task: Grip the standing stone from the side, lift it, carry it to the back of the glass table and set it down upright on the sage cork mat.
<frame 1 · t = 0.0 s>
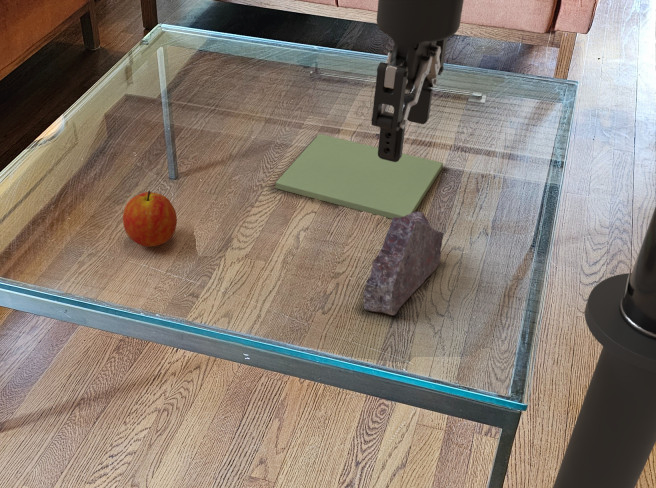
hand: (403, 139, 84), 24 cm above the table, tool pointing down, fingers open, 8 cm apart
fruit: (152, 242, 111), on the table
stone: (397, 282, 105), on the table
mat: (360, 178, 123), on the table
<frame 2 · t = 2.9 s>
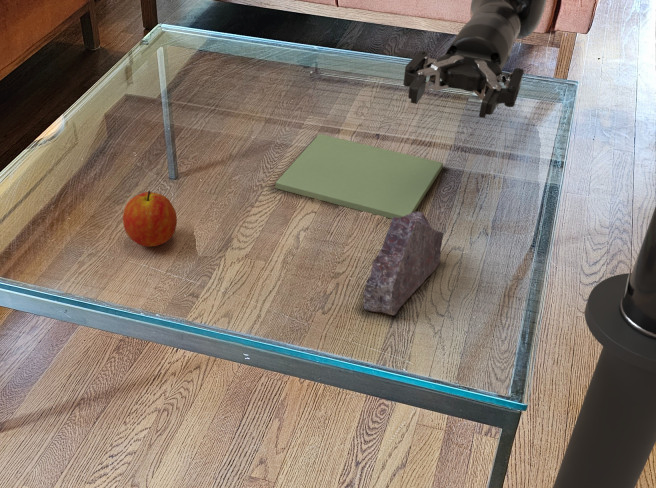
hand: (448, 103, 102), 18 cm above the table, tool horizontal, fingers open, 8 cm apart
nothing on the table moved.
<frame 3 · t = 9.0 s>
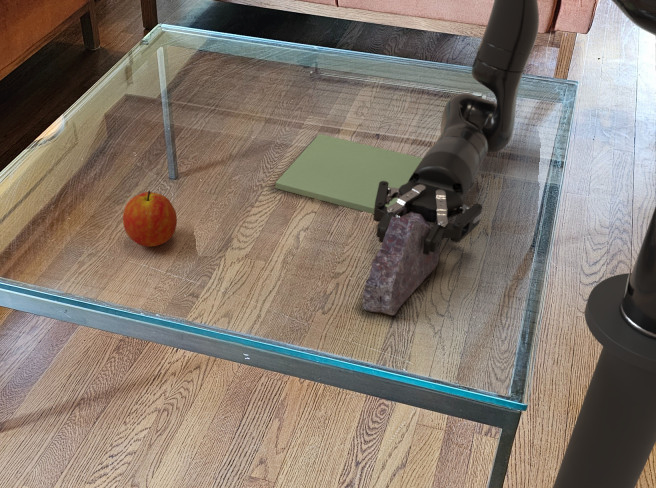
hand: (404, 242, 101), 6 cm above the table, tool horizontal, fingers closed on stone, 5 cm apart
stone: (396, 282, 105), on the table, touching gripper
everything else where it was.
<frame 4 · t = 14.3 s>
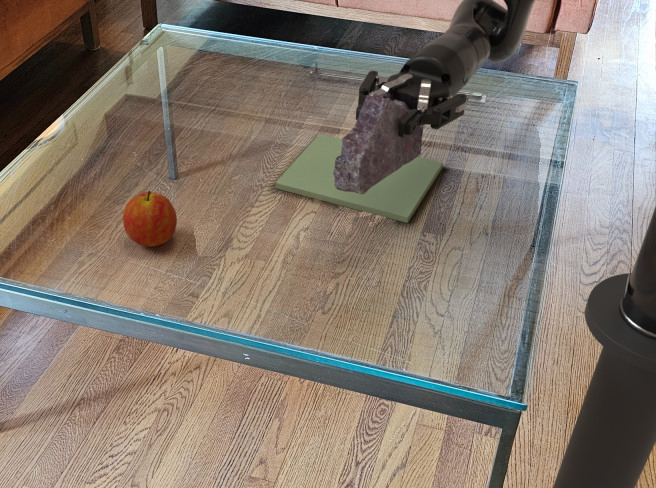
hand: (380, 124, 101), 17 cm above the table, tool horizontal, fingers closed on stone, 5 cm apart
stone: (374, 168, 105), point 10 cm above the table, touching gripper
everything else where it was.
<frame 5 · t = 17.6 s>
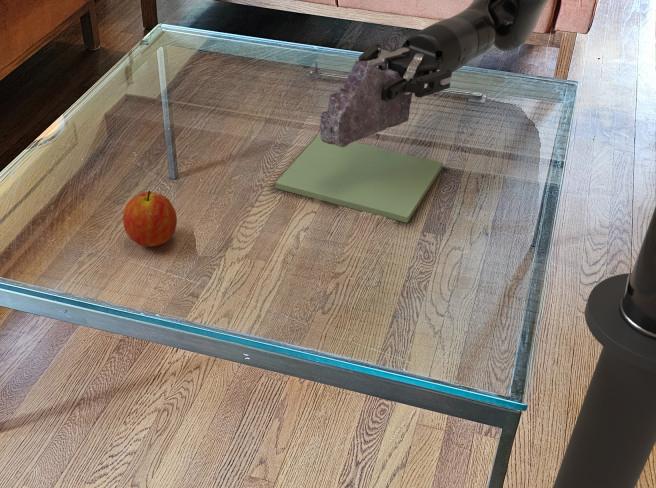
hand: (368, 87, 114), 14 cm above the table, tool horizontal, fingers closed on stone, 5 cm apart
stone: (363, 128, 118), point 8 cm above the table, touching gripper
everything else where it was.
when the fingers open (7 cm above the table, at t = 20.0 s): stone stays where it is, resting on mat.
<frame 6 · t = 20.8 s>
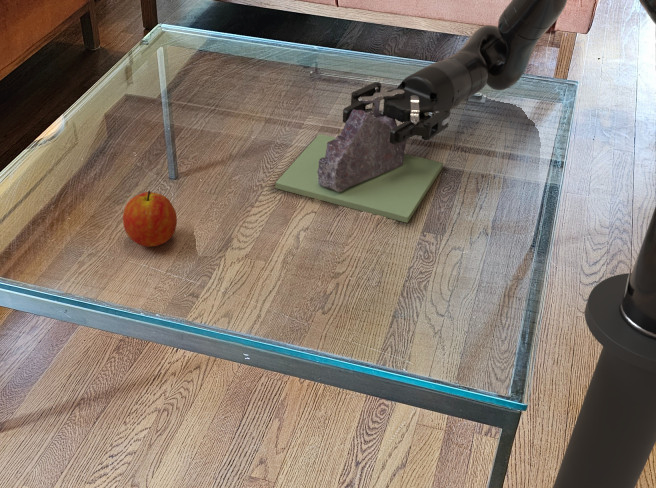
hand: (367, 127, 118), 8 cm above the table, tool horizontal, fingers open, 8 cm apart
stone: (359, 172, 123), point 1 cm above the table, touching mat
everything else where it was.
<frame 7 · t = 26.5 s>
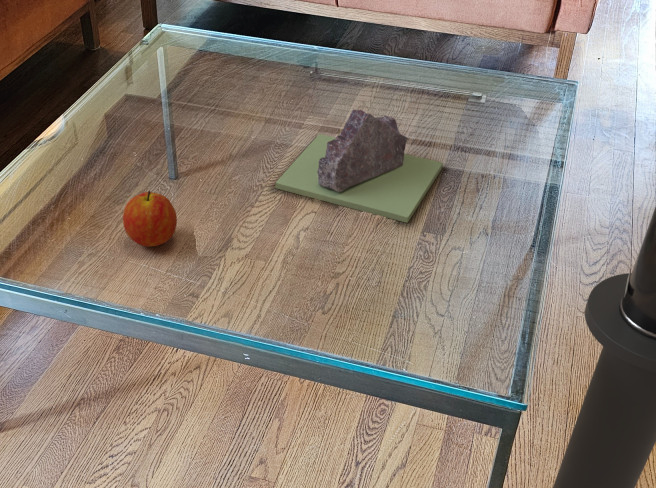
nothing on the table moved.
at the end: stone inside the target area on the mat (0.4 cm from its centre), point 0.8 cm above the mat's base; stone tilted 0°; the gripper is holding nothing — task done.
